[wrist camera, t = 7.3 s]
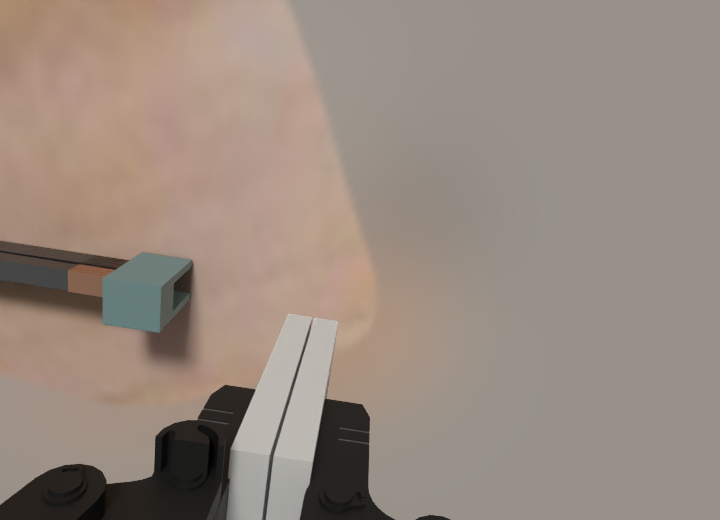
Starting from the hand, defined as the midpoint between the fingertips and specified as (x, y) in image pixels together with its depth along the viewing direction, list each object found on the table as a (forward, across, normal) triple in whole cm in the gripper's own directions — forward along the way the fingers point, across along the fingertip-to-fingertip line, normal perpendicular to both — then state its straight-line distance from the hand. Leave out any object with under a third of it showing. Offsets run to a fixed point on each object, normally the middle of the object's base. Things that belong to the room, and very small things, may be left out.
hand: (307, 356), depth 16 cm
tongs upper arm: (+3, -12, 0) cm, 12 cm away
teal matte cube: (+5, -6, 0) cm, 8 cm away
